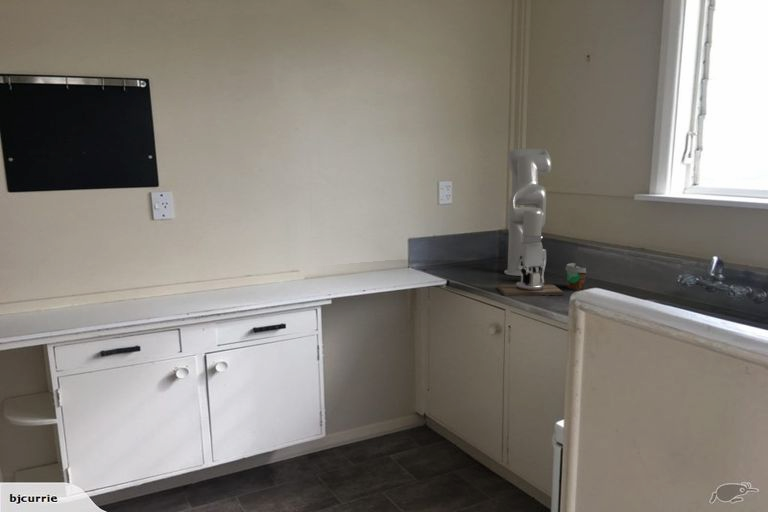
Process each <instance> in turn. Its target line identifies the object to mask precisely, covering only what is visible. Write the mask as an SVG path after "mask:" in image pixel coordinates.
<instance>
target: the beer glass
mask: <svg viewBox="0 0 768 512" xmlns="http://www.w3.org/2000/svg"><path fill="white" fill-rule="evenodd" d="M543 263H544V267H542V268H541V269H540V271H539V274H540V278H539V282H540V283H543V284H545V279H544V278H545V277H544V276H545V274H544V273H545V269H546V265H547V249H546V248H543ZM530 271H532V267H530Z"/></svg>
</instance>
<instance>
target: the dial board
mask: <svg viewBox="0 0 768 512" xmlns="http://www.w3.org/2000/svg"><path fill="white" fill-rule="evenodd" d="M543 284H544V285H543V289H542V290H523V289H519V288H517V287H516V284H508V283H507V284H503V283H502V284H497V287H496V288H497V289H498V290H499V291H500V292H501V294H503V296H505V297H509V296H510V297H513V296H514V297H515V296H516V297H517V296H518V295H565V294H564V292H565V291H563V290H561V289H560V288H559V287H557V286H556V285H555V284H548V283H547V284H545V283H543ZM518 297H519V296H518Z"/></svg>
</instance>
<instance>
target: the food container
mask: <svg viewBox="0 0 768 512" xmlns="http://www.w3.org/2000/svg"><path fill="white" fill-rule="evenodd" d="M565 271H566V286H567V289H568V288H569V289H568V290H571V289H574V290H573V291H578V290H577V289H579V290H583V289H585V282H586V274H587V268H586V267H581V266H578V265H576V262H574V263H573V262H571V263H567V264H566V266H565Z"/></svg>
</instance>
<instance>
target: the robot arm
mask: <svg viewBox="0 0 768 512" xmlns="http://www.w3.org/2000/svg"><path fill="white" fill-rule="evenodd" d="M507 154H508V155H507V157H508V158H507V162H508V166H509V169H510V171H511V175H512V176H511V177H512V178H511V179H512V180H511V195H510V198H509V200H508V213H507V224H508V249H507V250H508V251H507V252H508V253H507V269H505V270H504V271H503V273H504V274H505V275H508V276H516V277H519V276H520V277H521V272H522V274H523V283H525V284H529V275H528V271H529V270H530V268H531V267H532V271H533V272H536V273H539V271H540V269H541V268H542V267H544V263H543V249H544V248H543V243H542V240H543V236H542V228H544V226H545V224H546V217H547V213H546V212H547V190H546V187H545V186H543V185H540V184H539V176H538V175H539V174H540V175H547V174H550V172H551V171H552V158H551V156H550V153H549V151H548V150H547V149H544V148H515V149H514V148H513V149H511V150H509V152H508V153H507ZM520 206H521V207H520ZM523 206H524V207H523ZM525 206H526V207H525ZM527 206H535V207H527Z"/></svg>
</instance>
